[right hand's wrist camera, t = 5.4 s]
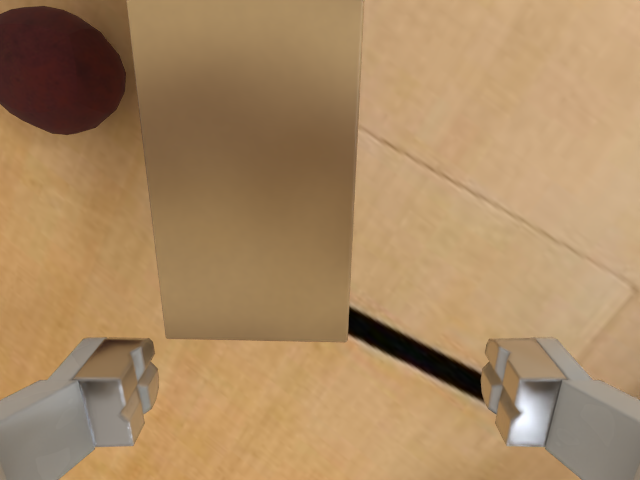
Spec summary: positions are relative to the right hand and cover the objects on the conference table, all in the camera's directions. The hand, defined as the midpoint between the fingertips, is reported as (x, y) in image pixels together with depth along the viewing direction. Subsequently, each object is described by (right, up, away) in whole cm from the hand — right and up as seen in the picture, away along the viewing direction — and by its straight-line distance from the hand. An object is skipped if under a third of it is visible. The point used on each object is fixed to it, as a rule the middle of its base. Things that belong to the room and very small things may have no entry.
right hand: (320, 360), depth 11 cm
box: (-2, +16, +12) cm, 20 cm away
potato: (-16, +15, +20) cm, 30 cm away
